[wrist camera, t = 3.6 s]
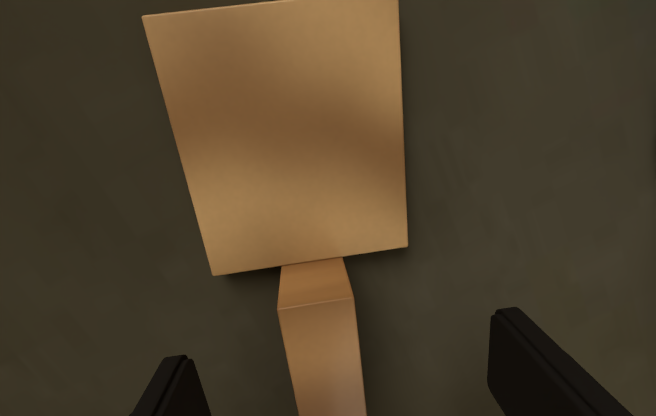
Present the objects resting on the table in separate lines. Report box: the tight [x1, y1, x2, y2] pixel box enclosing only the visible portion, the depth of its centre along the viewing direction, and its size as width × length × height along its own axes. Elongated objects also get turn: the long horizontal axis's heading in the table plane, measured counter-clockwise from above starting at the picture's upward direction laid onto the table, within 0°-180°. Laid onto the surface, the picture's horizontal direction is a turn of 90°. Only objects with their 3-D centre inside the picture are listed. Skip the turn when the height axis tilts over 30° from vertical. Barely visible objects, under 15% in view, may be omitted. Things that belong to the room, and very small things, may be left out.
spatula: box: [142, 0, 408, 416], centre depth 10 cm, size 17×7×3 cm, turn 7°
